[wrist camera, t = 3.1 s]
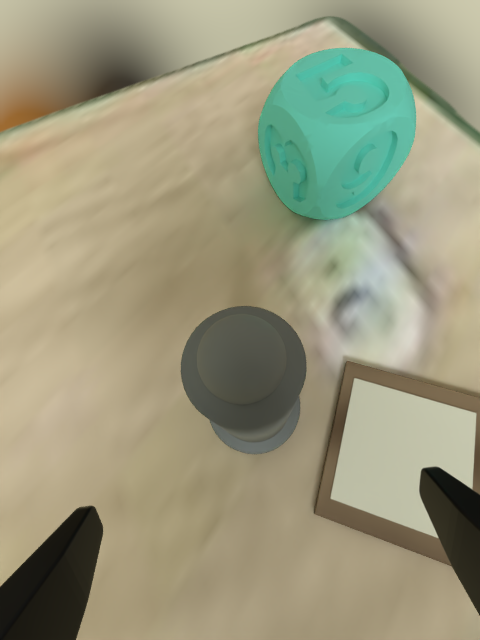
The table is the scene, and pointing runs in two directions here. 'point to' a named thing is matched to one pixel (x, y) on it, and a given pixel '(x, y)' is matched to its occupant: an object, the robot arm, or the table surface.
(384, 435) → the game board
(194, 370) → the pawn
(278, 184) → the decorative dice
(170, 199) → the table surface
